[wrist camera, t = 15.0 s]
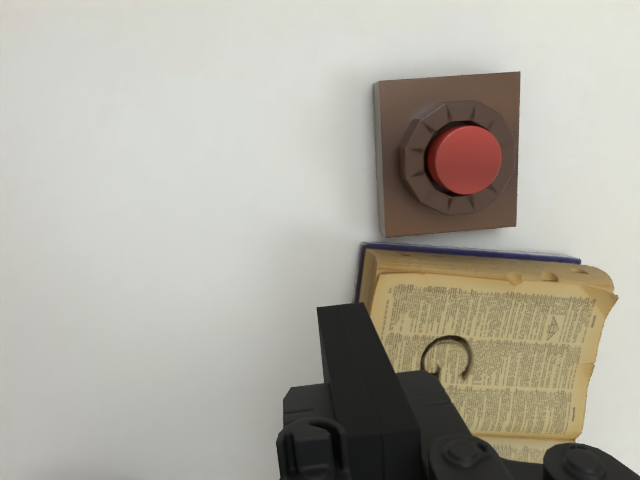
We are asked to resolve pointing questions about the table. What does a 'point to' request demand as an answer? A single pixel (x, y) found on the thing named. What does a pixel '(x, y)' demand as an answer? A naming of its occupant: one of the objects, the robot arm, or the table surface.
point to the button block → (416, 138)
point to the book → (492, 334)
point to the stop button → (464, 159)
